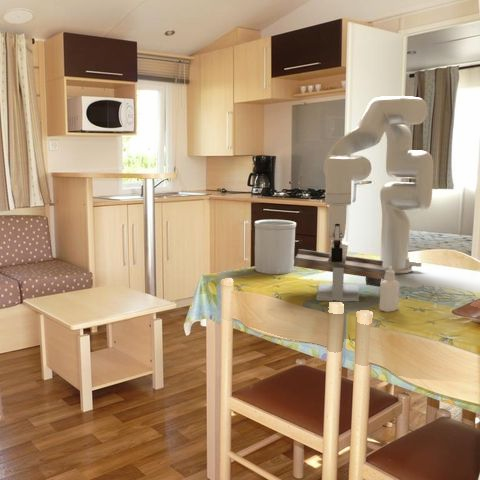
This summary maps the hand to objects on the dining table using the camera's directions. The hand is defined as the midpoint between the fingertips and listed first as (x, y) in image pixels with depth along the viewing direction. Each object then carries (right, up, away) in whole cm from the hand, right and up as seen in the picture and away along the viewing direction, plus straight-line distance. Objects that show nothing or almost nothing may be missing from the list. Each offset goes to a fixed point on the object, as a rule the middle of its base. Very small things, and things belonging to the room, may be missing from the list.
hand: (336, 259), depth 175 cm
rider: (0, -1, 0) cm, 1 cm away
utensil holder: (-17, -5, +34) cm, 39 cm away
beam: (0, -6, 0) cm, 6 cm away
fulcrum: (0, -11, +1) cm, 11 cm away
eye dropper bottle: (+11, -14, -16) cm, 24 cm away
